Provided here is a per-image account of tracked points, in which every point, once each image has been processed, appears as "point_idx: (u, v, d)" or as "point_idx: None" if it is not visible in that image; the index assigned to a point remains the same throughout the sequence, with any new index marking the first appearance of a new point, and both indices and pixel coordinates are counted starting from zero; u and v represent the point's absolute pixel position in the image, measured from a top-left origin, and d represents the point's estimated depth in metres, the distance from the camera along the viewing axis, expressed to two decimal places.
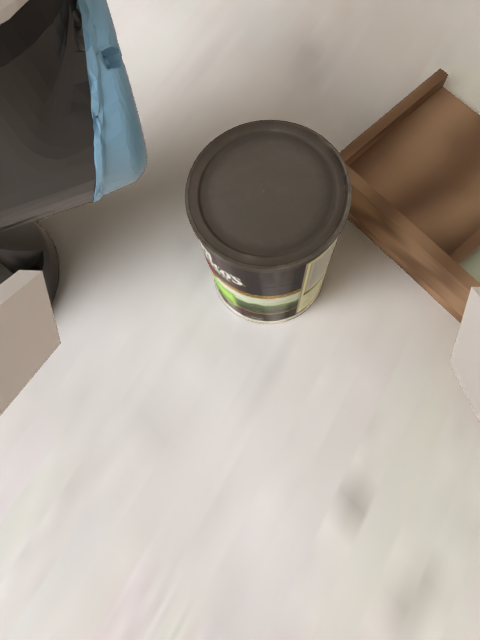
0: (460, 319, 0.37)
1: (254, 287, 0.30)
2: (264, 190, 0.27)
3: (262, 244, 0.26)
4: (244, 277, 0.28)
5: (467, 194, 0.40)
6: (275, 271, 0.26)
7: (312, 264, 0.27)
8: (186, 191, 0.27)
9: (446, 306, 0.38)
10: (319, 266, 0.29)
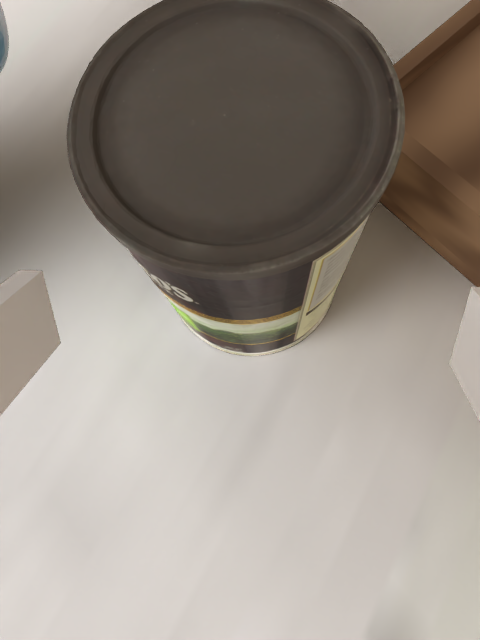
0: None
1: (215, 307, 0.16)
2: (225, 112, 0.13)
3: (220, 220, 0.12)
4: (190, 288, 0.14)
5: None
6: (247, 276, 0.12)
7: (324, 261, 0.14)
8: (70, 117, 0.14)
9: None
10: (336, 266, 0.15)
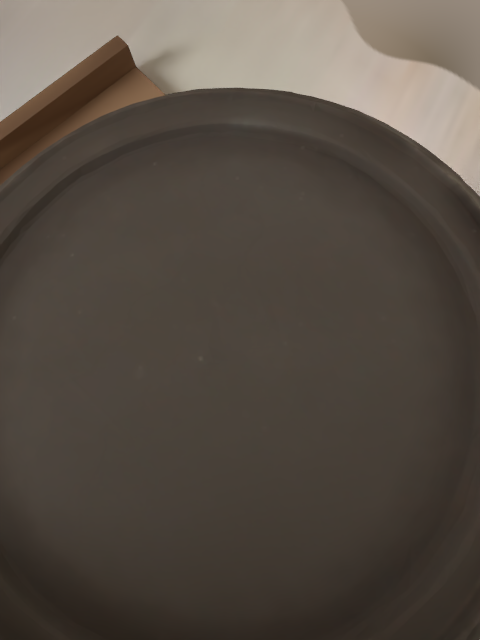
0: None
1: None
2: (202, 352, 0.07)
3: (187, 608, 0.06)
4: None
5: None
6: None
7: None
8: None
9: None
10: None
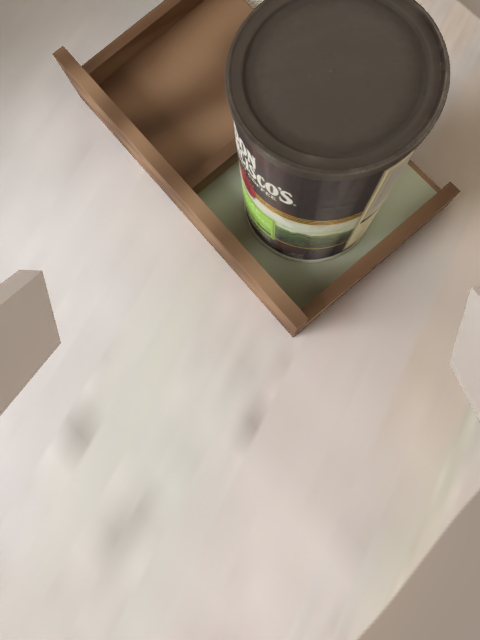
0: (210, 242, 0.35)
1: (308, 207, 0.23)
2: (330, 69, 0.20)
3: (329, 141, 0.20)
4: (299, 190, 0.22)
5: None
6: (345, 178, 0.20)
7: (389, 173, 0.21)
8: (226, 70, 0.20)
9: (198, 229, 0.35)
10: (393, 179, 0.23)
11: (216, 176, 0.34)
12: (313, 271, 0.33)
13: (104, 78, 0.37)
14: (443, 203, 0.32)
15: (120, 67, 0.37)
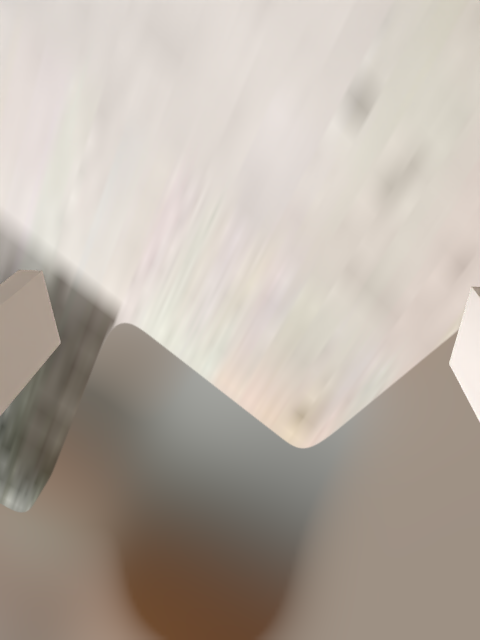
0: None
1: None
2: None
3: None
4: None
5: None
6: None
7: None
8: None
9: None
10: None
11: None
12: None
13: None
14: None
15: None
